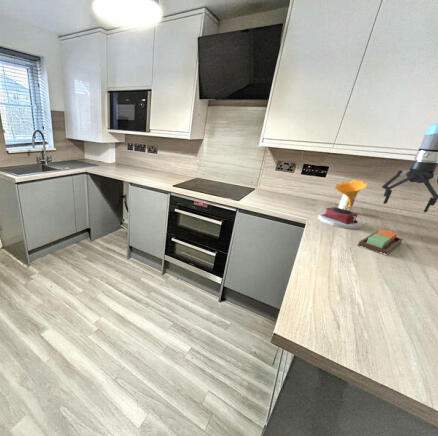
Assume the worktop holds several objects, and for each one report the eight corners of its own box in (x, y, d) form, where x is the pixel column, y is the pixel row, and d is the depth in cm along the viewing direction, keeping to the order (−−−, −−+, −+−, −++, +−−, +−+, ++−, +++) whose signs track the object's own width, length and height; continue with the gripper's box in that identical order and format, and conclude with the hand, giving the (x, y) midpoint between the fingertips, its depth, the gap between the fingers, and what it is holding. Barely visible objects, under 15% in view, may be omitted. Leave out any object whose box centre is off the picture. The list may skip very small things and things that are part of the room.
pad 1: (372, 240, 116) (375, 233, 114) (387, 245, 111) (390, 238, 110) (365, 245, 110) (368, 237, 109) (380, 250, 106) (384, 242, 105)
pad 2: (379, 236, 122) (383, 229, 120) (394, 240, 117) (397, 233, 116) (373, 240, 116) (376, 232, 115) (388, 244, 112) (391, 237, 111)
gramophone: (332, 214, 152) (346, 176, 143) (368, 227, 135) (388, 184, 125) (310, 217, 146) (323, 177, 136) (345, 230, 128) (364, 186, 118)
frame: (401, 243, 117) (403, 239, 116) (385, 255, 104) (387, 250, 103) (375, 235, 125) (376, 231, 124) (357, 245, 111) (359, 241, 111)
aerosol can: (343, 213, 156) (355, 183, 149) (334, 209, 163) (345, 181, 155) (352, 213, 157) (364, 184, 150) (343, 209, 164) (354, 181, 156)
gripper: (385, 158, 110) (367, 201, 118) (470, 166, 91) (442, 217, 99) (389, 157, 114) (372, 199, 122) (472, 165, 95) (445, 214, 103)
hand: (404, 207), depth 110 cm, fingers open, 13 cm apart
